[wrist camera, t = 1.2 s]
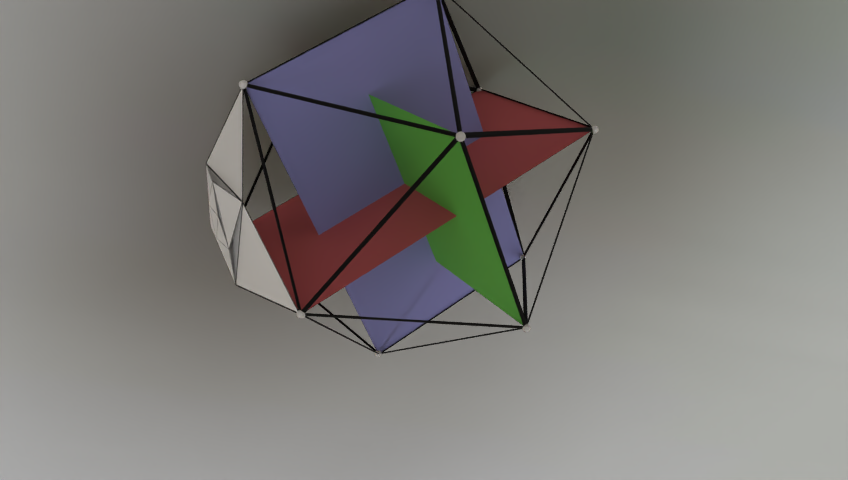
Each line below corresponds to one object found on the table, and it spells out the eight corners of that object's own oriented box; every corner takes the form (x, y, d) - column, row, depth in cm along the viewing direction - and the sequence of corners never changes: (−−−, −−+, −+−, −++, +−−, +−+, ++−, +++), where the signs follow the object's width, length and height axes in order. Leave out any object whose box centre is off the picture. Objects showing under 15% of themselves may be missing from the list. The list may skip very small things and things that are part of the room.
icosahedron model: (596, -89, 14) (405, 133, 9) (653, 203, 18) (540, 481, 13) (309, -26, 18) (61, 155, 13) (404, 204, 22) (240, 416, 17)
